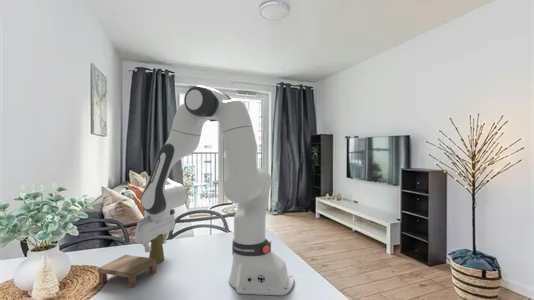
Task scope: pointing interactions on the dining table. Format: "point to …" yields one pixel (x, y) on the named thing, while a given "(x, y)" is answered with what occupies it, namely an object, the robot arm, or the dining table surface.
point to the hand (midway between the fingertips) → (156, 247)
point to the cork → (157, 249)
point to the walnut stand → (127, 268)
